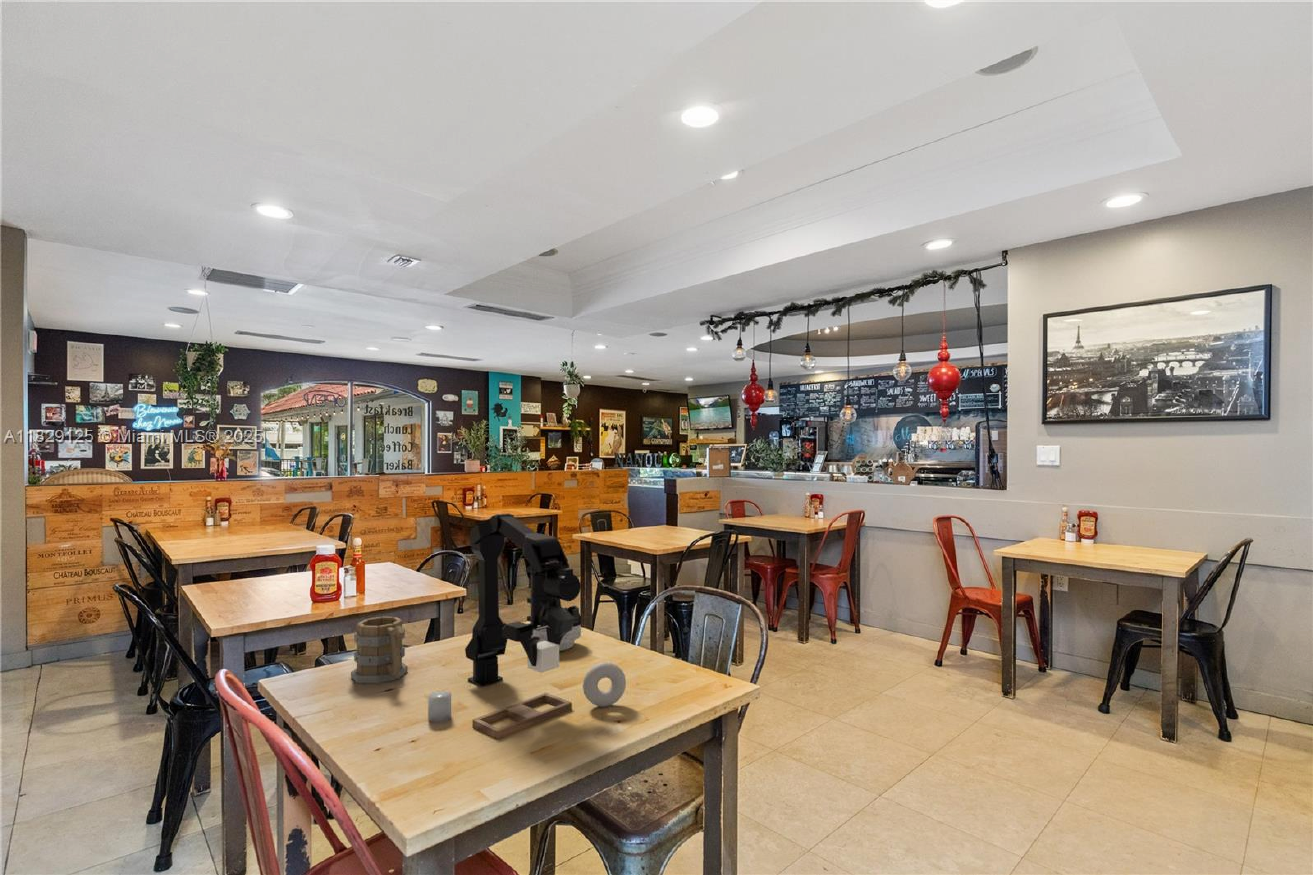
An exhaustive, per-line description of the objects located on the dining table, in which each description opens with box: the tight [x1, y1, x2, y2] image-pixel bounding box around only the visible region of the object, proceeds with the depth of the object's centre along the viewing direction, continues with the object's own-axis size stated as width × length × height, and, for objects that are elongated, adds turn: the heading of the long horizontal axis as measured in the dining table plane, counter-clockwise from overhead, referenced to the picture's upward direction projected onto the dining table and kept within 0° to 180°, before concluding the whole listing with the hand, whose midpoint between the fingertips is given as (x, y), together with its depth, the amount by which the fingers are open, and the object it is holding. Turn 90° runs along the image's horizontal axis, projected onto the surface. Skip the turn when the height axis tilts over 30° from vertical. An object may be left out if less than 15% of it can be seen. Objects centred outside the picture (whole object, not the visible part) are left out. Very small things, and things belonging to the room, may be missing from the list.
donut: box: [582, 661, 627, 708], centre depth 149 cm, size 10×3×10 cm, turn 105°
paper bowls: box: [529, 621, 582, 652], centre depth 193 cm, size 15×15×8 cm
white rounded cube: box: [527, 641, 560, 674], centre depth 147 cm, size 5×5×5 cm
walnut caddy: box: [472, 692, 573, 740], centre depth 142 cm, size 9×20×2 cm, turn 139°
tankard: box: [350, 616, 409, 685], centre depth 167 cm, size 20×13×15 cm, turn 42°
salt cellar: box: [427, 690, 452, 724], centre depth 142 cm, size 5×5×5 cm
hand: (543, 663), depth 147 cm, fingers closed on white rounded cube, 5 cm apart
